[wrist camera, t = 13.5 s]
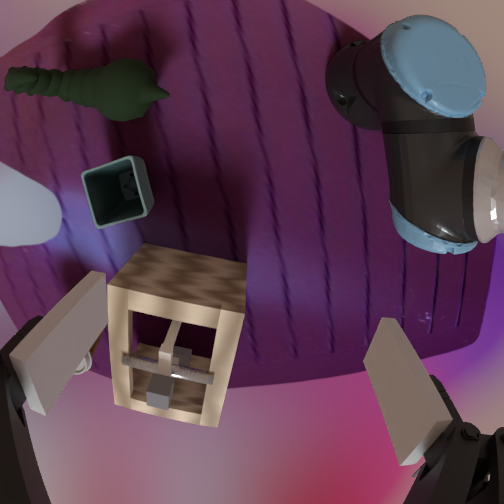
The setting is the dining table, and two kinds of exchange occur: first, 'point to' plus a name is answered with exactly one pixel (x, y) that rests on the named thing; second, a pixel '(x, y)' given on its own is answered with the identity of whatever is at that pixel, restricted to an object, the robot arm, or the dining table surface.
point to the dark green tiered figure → (94, 87)
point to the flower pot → (118, 191)
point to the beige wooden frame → (180, 309)
